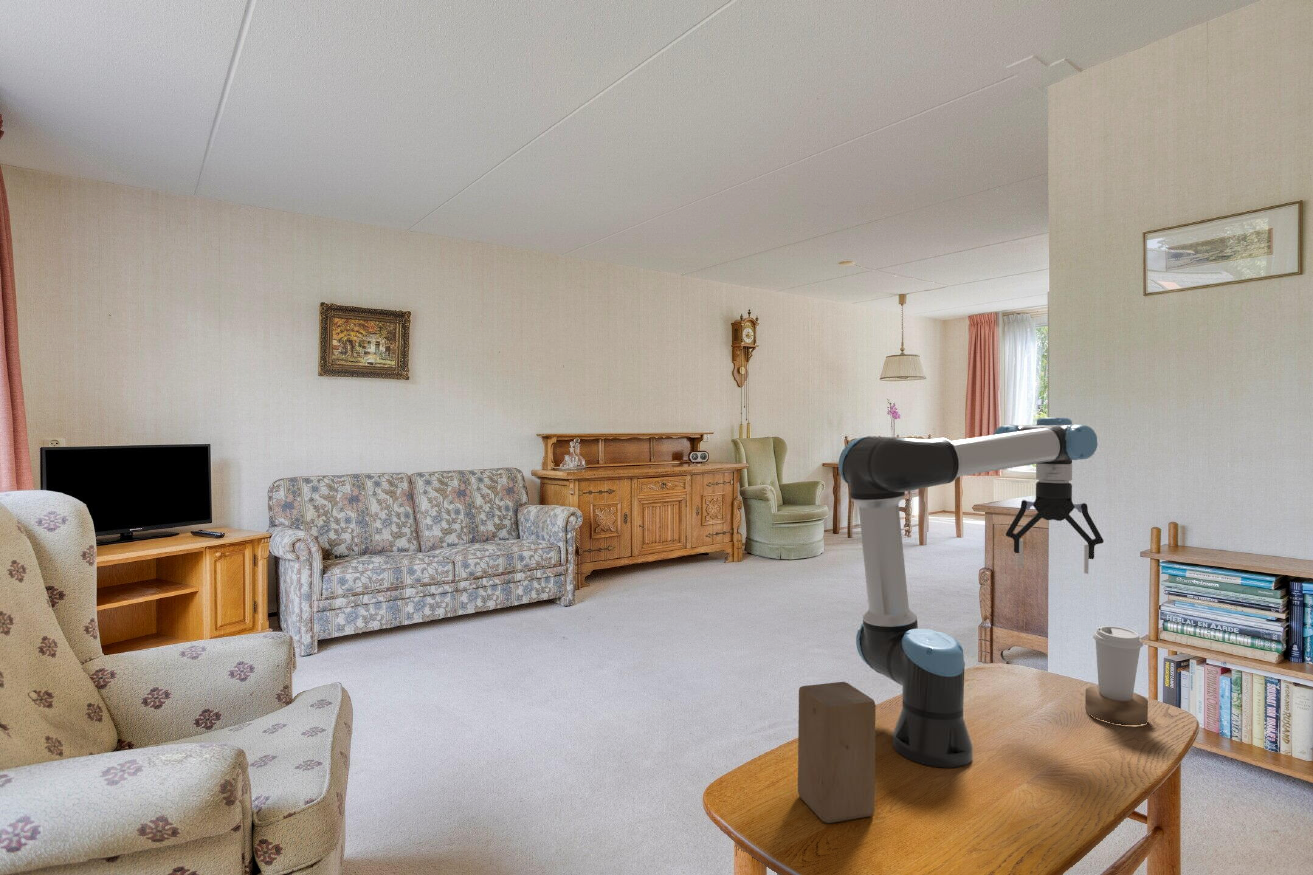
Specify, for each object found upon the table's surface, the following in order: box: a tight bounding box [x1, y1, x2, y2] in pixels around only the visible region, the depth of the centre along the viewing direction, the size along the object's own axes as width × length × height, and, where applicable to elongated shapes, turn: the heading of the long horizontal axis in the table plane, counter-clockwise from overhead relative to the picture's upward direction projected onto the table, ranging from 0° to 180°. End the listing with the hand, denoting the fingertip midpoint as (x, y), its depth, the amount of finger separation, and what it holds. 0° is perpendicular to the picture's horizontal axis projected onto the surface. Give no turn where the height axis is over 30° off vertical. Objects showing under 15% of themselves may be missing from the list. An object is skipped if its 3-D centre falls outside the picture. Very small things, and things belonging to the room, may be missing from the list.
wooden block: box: [797, 681, 877, 824], centre depth 118 cm, size 10×10×20 cm
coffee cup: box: [1092, 625, 1144, 701], centre depth 157 cm, size 10×10×15 cm
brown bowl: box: [1084, 685, 1149, 725], centre depth 158 cm, size 12×12×5 cm
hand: (1052, 569), depth 164 cm, fingers open, 13 cm apart
